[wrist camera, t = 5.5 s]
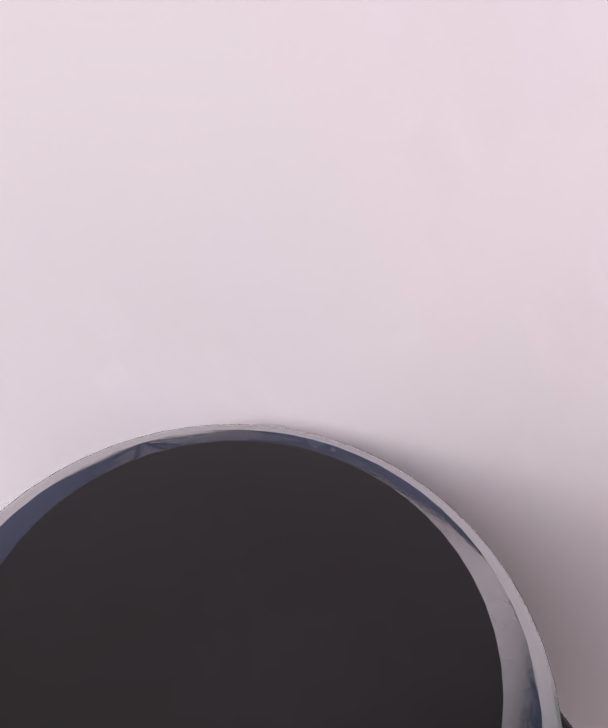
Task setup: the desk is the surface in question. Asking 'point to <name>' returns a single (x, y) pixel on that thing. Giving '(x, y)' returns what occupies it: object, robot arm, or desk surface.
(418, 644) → the navy blue tumbler
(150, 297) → the desk surface
